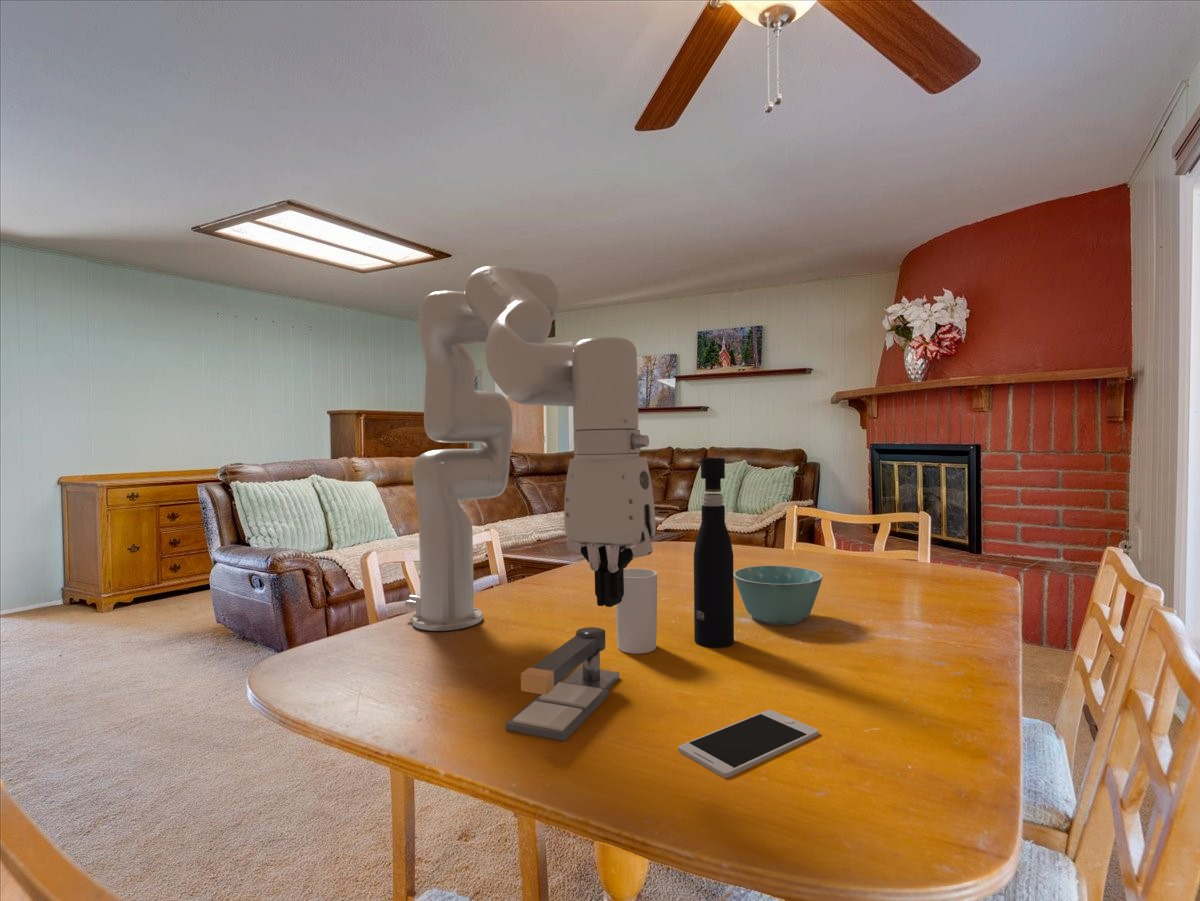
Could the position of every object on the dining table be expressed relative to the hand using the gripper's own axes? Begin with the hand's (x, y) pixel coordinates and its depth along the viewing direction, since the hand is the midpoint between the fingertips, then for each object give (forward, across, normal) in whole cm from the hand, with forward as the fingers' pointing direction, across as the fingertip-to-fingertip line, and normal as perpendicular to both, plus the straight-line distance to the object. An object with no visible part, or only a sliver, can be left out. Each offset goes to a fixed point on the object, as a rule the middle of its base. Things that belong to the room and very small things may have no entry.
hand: (609, 603), depth 74 cm
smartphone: (+15, -15, -4) cm, 22 cm away
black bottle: (+14, 0, -35) cm, 38 cm away
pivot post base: (+14, +9, -10) cm, 20 cm away
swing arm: (+9, +8, -3) cm, 13 cm away
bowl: (+14, -6, -52) cm, 55 cm away
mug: (+14, +11, -27) cm, 33 cm away
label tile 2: (+14, +8, -4) cm, 17 cm away
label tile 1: (+14, +7, +3) cm, 16 cm away
